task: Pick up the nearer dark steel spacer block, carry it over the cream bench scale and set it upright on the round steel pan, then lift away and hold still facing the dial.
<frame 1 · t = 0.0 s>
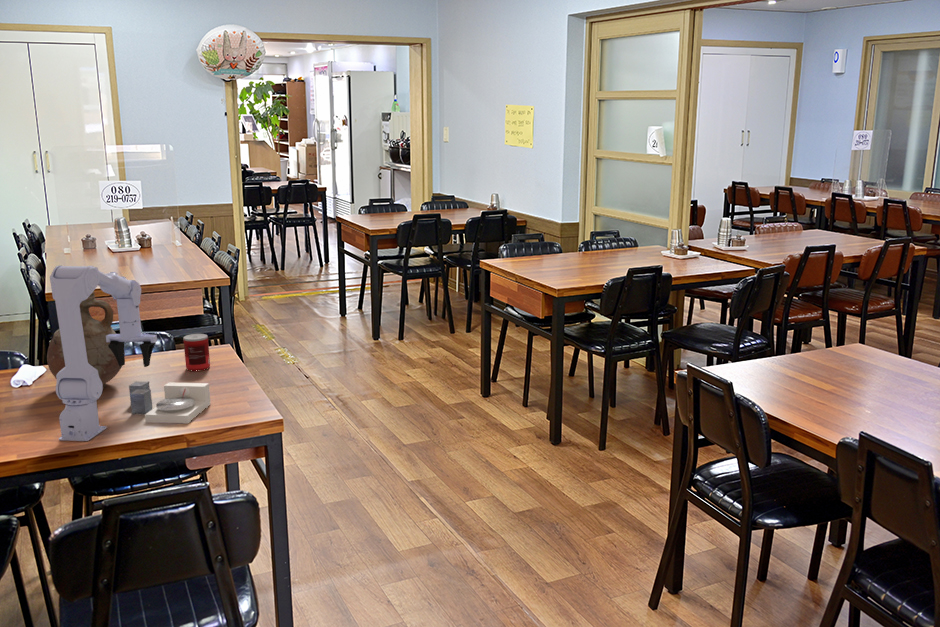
hand: (134, 365, 233), 10 cm above the table, tool pointing down, fingers open, 7 cm apart
canned food: (198, 368, 265), on the table
jug: (90, 388, 246), on the table
pan: (175, 403, 220), point 3 cm above the table, slide at -0.1 cm
scale: (176, 415, 221), on the table
spacer 2: (141, 403, 231), on the table
spacer 1: (142, 411, 224), on the table
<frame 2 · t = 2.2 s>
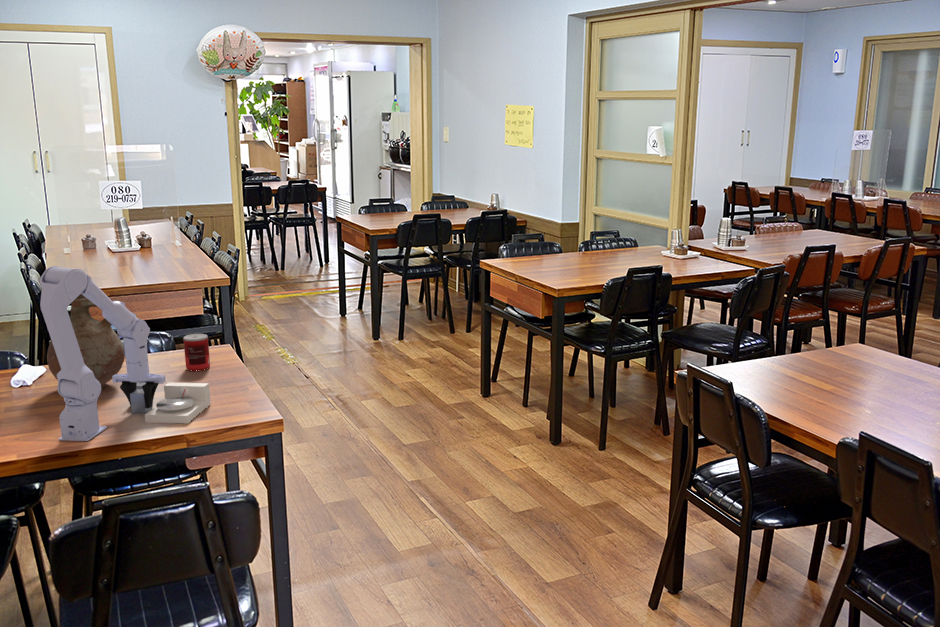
hand: (141, 406, 223), 1 cm above the table, tool pointing down, fingers closed on spacer 1, 4 cm apart
spacer 1: (142, 411, 224), on the table, touching gripper
everything else where it was.
when the fingers open (6 cm above the table, at t = 5.3 s): spacer 1 stays where it is, resting on pan.
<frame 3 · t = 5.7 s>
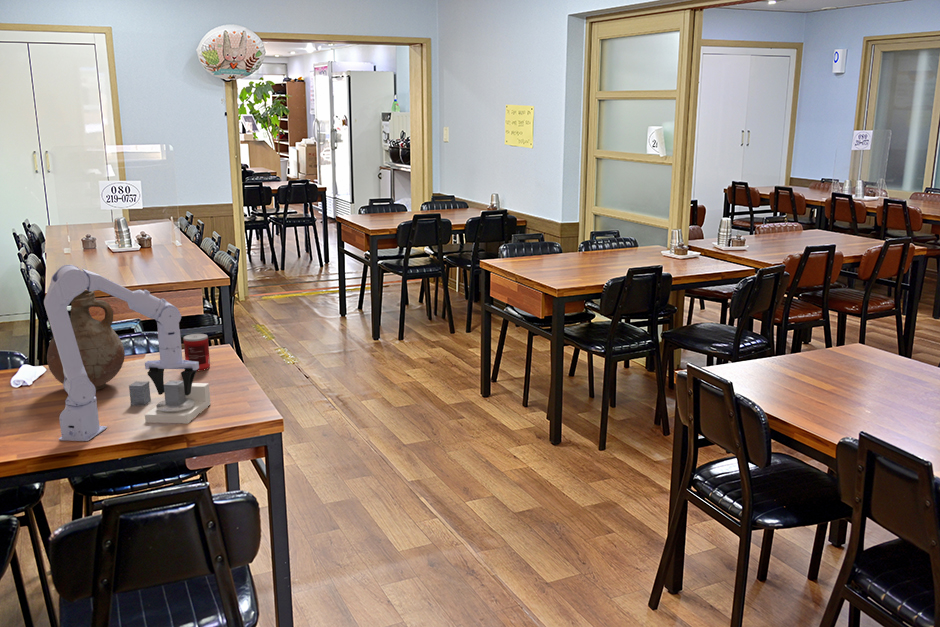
hand: (174, 393, 219), 6 cm above the table, tool pointing down, fingers open, 7 cm apart
pan: (175, 404, 220), point 3 cm above the table, slide at -0.4 cm, touching spacer 1
spacer 1: (175, 403, 220), point 3 cm above the table, touching pan
everything else where it was.
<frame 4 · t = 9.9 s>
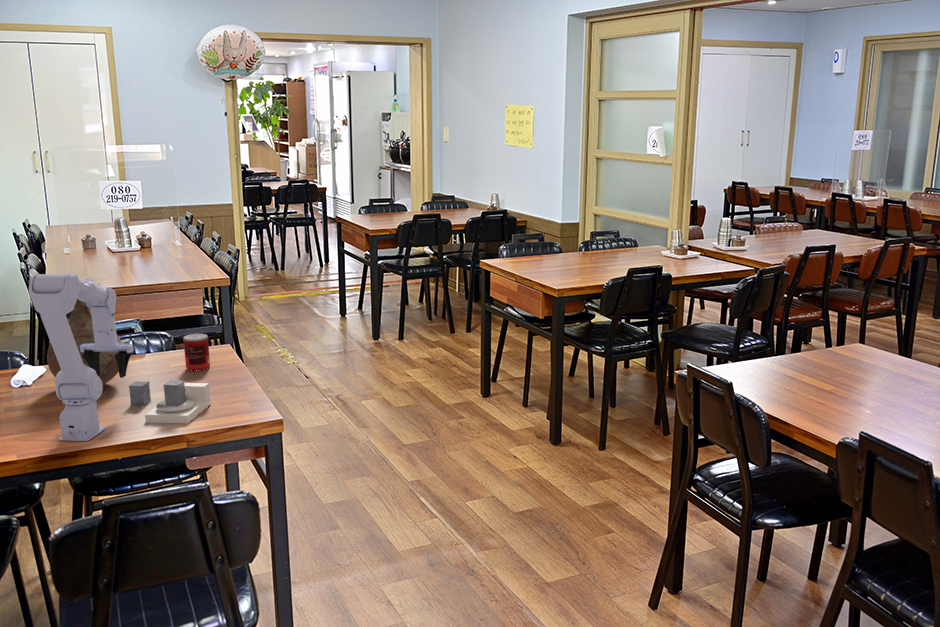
hand: (110, 376, 223), 10 cm above the table, tool pointing down, fingers open, 7 cm apart
nothing on the table moved.
at the end: spacer 1 inside the target area on the scale (0.2 cm from its centre), point 3.4 cm above the scale's base; spacer 1 tilted 0°; spacer 1 touching pan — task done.
